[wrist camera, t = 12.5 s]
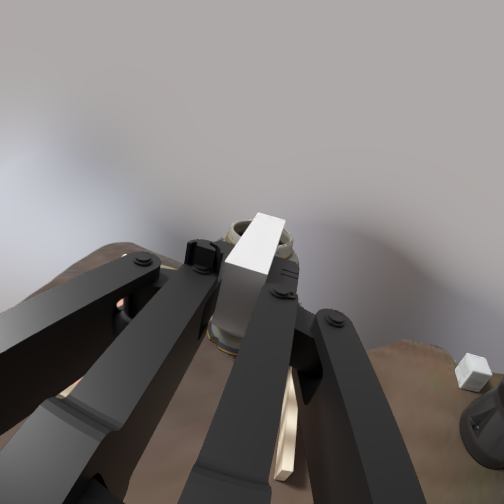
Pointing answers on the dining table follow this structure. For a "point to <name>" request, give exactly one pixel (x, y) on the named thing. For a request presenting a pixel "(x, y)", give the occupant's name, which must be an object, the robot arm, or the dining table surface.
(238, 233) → the apothecary jar
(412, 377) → the dining table surface
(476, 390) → the small box
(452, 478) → the dining table surface
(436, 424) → the dining table surface
